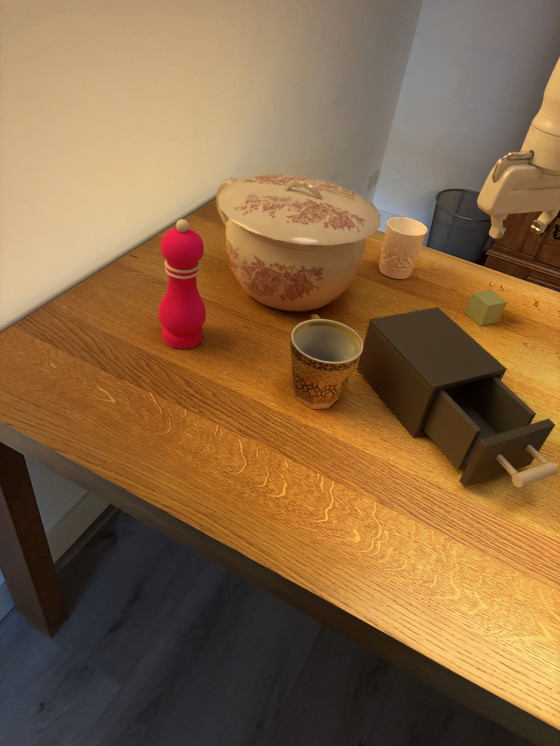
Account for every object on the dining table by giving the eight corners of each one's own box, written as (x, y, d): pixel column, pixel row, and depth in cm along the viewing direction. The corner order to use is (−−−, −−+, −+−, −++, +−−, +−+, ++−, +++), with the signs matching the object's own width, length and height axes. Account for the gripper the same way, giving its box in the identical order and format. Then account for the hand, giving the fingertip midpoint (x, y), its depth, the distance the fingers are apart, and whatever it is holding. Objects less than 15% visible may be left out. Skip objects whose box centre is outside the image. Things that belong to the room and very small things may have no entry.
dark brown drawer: (555, 491, 70) (584, 451, 65) (489, 517, 66) (514, 476, 61) (461, 394, 83) (479, 354, 78) (400, 411, 78) (415, 369, 73)
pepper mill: (192, 356, 84) (194, 237, 71) (150, 342, 85) (145, 223, 72) (212, 332, 89) (218, 216, 76) (173, 319, 90) (171, 204, 77)
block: (482, 309, 105) (490, 289, 102) (498, 322, 102) (507, 302, 99) (464, 312, 103) (472, 292, 100) (479, 326, 100) (488, 305, 97)
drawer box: (482, 418, 80) (507, 368, 74) (413, 438, 76) (433, 387, 69) (420, 354, 91) (437, 306, 85) (356, 368, 86) (370, 318, 80)
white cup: (410, 285, 108) (425, 239, 102) (372, 274, 110) (384, 228, 103) (415, 267, 114) (429, 223, 108) (379, 258, 116) (391, 213, 109)
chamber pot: (383, 329, 95) (415, 218, 82) (228, 338, 88) (236, 218, 75) (333, 251, 115) (352, 152, 102) (203, 253, 108) (206, 147, 95)
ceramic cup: (356, 416, 78) (372, 362, 71) (288, 419, 76) (298, 363, 69) (334, 359, 87) (347, 306, 81) (273, 360, 85) (281, 306, 79)
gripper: (517, 160, 76) (481, 249, 85) (613, 156, 84) (571, 237, 93) (487, 144, 80) (456, 230, 89) (582, 141, 88) (544, 221, 97)
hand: (515, 234), depth 91 cm, fingers open, 8 cm apart
